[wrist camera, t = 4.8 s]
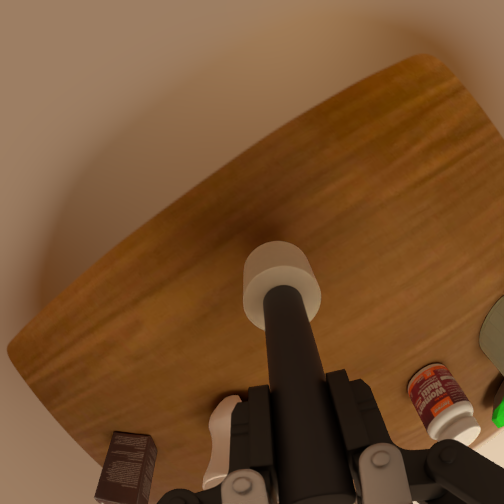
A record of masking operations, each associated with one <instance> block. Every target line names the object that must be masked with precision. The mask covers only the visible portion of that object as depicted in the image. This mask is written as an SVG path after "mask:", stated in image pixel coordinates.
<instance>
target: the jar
mask: <svg viewBox="0 0 504 504" xmlns="http://www.w3.org/2000/svg"><path fill="white" fill-rule="evenodd" d="M479 344H480V347H481V349H482V350H483V352H484V353H485V354H486V356H487V357H488V358H489V359H490V360H491V361H492V363H493V364H494V365H495V366H496V367H497V369H498V370H499V371H500V372H501V374H502V375H503V376H504V296H503V297H501V298H500V299H499V300H498V301H497V303H496V304H495V305H494V306H493V307H492V309H491V310H490V312H489V313H488V315H487V317H486V319H485V321H484V323H483V325H482V328H481V331H480V336H479Z"/></svg>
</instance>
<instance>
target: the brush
mask: <svg viewBox="0 0 504 504" xmlns="http://www.w3.org/2000/svg"><path fill="white" fill-rule="evenodd" d="M320 303H321V291H320V288H319V285H318V283H317V280H316V278H315V276H314V273H313V271H312V269H311V266H310V264H309V262H308V260H307V257H306V256H305V254H304V253H303V252H302V251H301V250H300V249H299V248H298V247H297V246H295V245H293V244H291V243H288V242H284V241H272V242H268V243H265V244H262V245H260V246H259V247H257V248H256V249H255V250H253V251H252V252H251V254H250V255H249V256H248V258H247V260H246V262H245V265H244V277H243V306H244V310H245V313H246V315H247V317H248V318H249V320H250V321H251V322H252V323H253V324H254V325H256V326H257V327H258V328H260V329H262V330H264V331H265V334H266V346H267V358H268V370H269V382H270V393H271V403H272V415H273V427H274V440H275V452H276V465H277V482H278V496H279V504H354V503H355V501H356V498H357V496H356V492H355V488H354V484H353V480H352V476H351V472H350V468H349V464H348V462H347V459H346V455H345V451H344V447H343V443H342V439H341V436H340V432H339V428H338V424H337V420H336V417H335V413H334V409H333V405H332V402H331V398H330V394H329V391H328V387H327V383H326V378H325V374H324V371H323V367H322V364H321V360H320V357H319V353H318V350H317V346H316V343H315V339H314V336H313V333H312V329H311V326H310V321H311V320H312V319H313V318H314V316H315V315H316V313H317V312H318V309H319V307H320Z"/></svg>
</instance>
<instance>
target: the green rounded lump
mask: <svg viewBox="0 0 504 504" xmlns="http://www.w3.org/2000/svg"><path fill="white" fill-rule="evenodd" d="M492 421H493V422H494V423H495V425H496V426H497V427H498V428H500V427H502V426H504V380H503V382H502V384H501V386H500V388H499V390H498V392H497V393H496V395H495V397H494V405H493V414H492Z"/></svg>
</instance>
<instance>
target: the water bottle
mask: <svg viewBox="0 0 504 504" xmlns="http://www.w3.org/2000/svg"><path fill="white" fill-rule="evenodd" d="M238 402H242V401H241V399H240V397H239V396H238V395H231V396H228V397H226V398H225V399H223V400H222V401H221V402H220V403H219V404H218V406H217V407H216V409H215V410H214V411H213V413H212V414H211V416H210V420H209V430H210V432H211V436H212V455H211V459H210V463H209V466H208V468H207V471H206V473H205V475H204V477H203V490H207V489H210V488H213V487H215V486H217V485H218V484H220V483H221V482H222V481H223V480H224V478H225V477H226V476H227V474H228V471H229V453H230V436H231V435H230V428H231V413H232V411H233V409H234V407H235V405H236V404H237V403H238Z"/></svg>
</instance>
